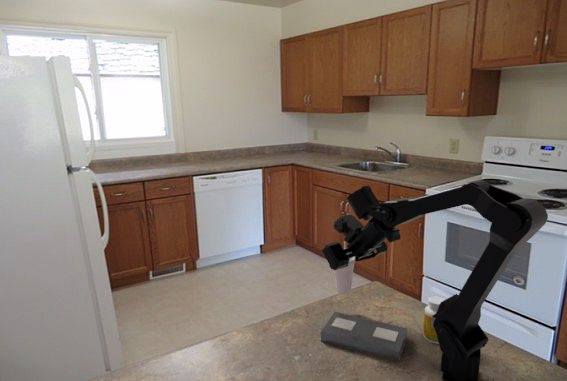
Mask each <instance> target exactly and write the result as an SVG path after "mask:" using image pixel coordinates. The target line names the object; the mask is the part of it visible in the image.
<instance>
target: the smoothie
mask: <svg viewBox="0 0 567 381" xmlns="http://www.w3.org/2000/svg"><path fill="white" fill-rule="evenodd" d="M344 249H347V243H346V241H343V250H344ZM355 261H356V260H355V257H352V258H349V264H348V266H347V267H344V268H341V269H337V270H333V272H334V278H335V280H334V281H335V285H336V290H337V293H339V294H342V295H348V294H350V293H351V291H352V286H353V284H352V283H353V276H354V267H355V263H356V262H355Z"/></svg>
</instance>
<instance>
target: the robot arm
mask: <svg viewBox="0 0 567 381" xmlns="http://www.w3.org/2000/svg"><path fill="white" fill-rule="evenodd" d="M346 201H347V203H348V204H349V206H350V208H351V209H352V211H353V212H354V214H355V215H356V217H355V216H354V215H352V214H346V215H342V216H340V217H338V218H337V219H336V220H335V221H334V222H333V223H334V224H333V229H335V231H336V232H337V233H339V234H342V235H344V236H345V237H344V242H346V249H344V247H343V246H342V244H341V243H340V242H338V241H335V242H331V243H328V244H327V243H326V244H325V245H324V246H323V247H322V249H321V252H322V254H323V256H324V257H325V259H326V261H327V263H328V265H329V268H330V269H331V270H333V271H334V270H337V269H341V268H344V267H347V266H348V264H349V258H352V257H355V260H356V261H355V263H357V262H360V261H361V262H362V261H365V260H370V259H373V258H375V257H379V256H382V255H383V254H385V253H386V252H387V251H388V245H387V243H386V242H385V241H386V240H387V242H389V243H393V242H396V241H399V240H401V239H402V238H401V234H400V233H401V232H400V231H401V230H400V229H399V228H397V227H399V226H401V225H404V224H409V223H411V222H413V221H415V220H417V219H419V218H422V217H423V216H425V215H428V214H432V213H436V212H440V211H443V210H449V209H453V208H457V207H461V206H466V205H469V206H471V207H472V208H473V209H474V210H475V211H476V212H477V213H478V214H479V215H480V216H481V217H482V218H483V219H484V220H486V221H488V222H490V223H491V224H490V227H489V240H488V243H487V245H486V247H485V249H484V250H483V252H482V254H481V256H480V257H479V259H478V261H477V262H476V263H475V265H474V268H473V269H472V271H471V273H470V274H469V276H468V277H467V279H466V281H465V283H464V285H463V286H462V287H461V289H460V291H459V293H458V294H457V293H455V294H453V295H452V296H449V297H448V298H445V300H444V301H442V302H441V303H440V305H439V307H438V311H437V312H436V314H435V315H433V316H432V317H433V318H435V319H434V322H433V327H434V328H435V332H436V334H437V338H438V342H439V344H438V345H439V349H440V352H441V359H440V361H441V362H440V372H441V373H442V378H441V379H442V381H480V366H481V354H482V352H481V349H482V348H484V347H486V345H487V344H488V342H489V340H490V339H489V337H488V335H487V334H486V333H485V331H484V330H483V329H482V327H481V325H480V323H479V322H480V320H481V317H482V305H483V304H484V302H485V301H486V299H487V297H488V296H489V295H490V293H491V292H492V290H493V288H494V287H495V285H496V283H497V282H498V281H499V279H500V277H501V276H502V274H503V272H505V269H506V268H507V267H508V265H509V263H510V262H511V260H512V258H514V256H515V254H516V252H517V251H518V250H519V249H520V248H521V247H522V246H524V245H525V244H526V243H527V242H528V241H529V240H530V239H532V238H533V237H534V236H535V235H536V234H537V233H538V232H539V231H540V230H541V229H542V228H543V227H544V226H545V225H546V223H547V221H548V218H549V217H548V216H549V215H548V212H547V209H546V208H545V206H544V205H543V203H541V202H539V201H538V200H536V199H534V198H530V197H528V198H527V197H522V196H521V195H519V194H517V193H514V192H512V191H509V190H506V189H503V188H500V187H497V186H495V185H492V184H491V183H489V182H487V181H485V180H482V179H479V180H478V179H477V180H473V181H469V182H465V183H464V184H462V185H460V186H459V185H458V186H456V187H452V188H449V189H446V190H445V189H444V190H442V191H441V190H440V191H439V192H435V193H431V194H427V195H424V196H418V197H416V196H413V197H412V196H411V197H401V198H395V199H392V200H388V201H383V202H380V201H379V199H378V198H377V197H376V195H375V194H374V192H373V189H372V188H371V186H370V185H368V184H367V185H362V187H361V188H359V189H357V190H355V191H353V192H352V193H350V194H349V195H348V196H347V197H346ZM357 218H358V219H357ZM360 220H364V221H367V222H366V224H364V225H363V223H362V222H361V221H360ZM375 251H376V252H375Z"/></svg>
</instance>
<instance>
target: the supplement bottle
mask: <svg viewBox="0 0 567 381" xmlns="http://www.w3.org/2000/svg"><path fill="white" fill-rule="evenodd" d="M444 300H446V298H444V297H441V296H436V295H435V296H430V297H429V298H428V302H427V303H428V304H427V305H426V306H425V308H424V313H423V316H424V318H423V332H422V335H423V337H424V339H425V340H426V341H428V343H433V344H436V345H437V344H438V345H439V342H438V338H437V334H436V332H435V328H434V327H433V322H434V319H435V318H433V317H432V316H433V315H435V314H436V312H437V311H438V307H439V305H440V303H441V302H442V301H444Z"/></svg>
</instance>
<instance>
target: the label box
mask: <svg viewBox="0 0 567 381" xmlns="http://www.w3.org/2000/svg"><path fill="white" fill-rule="evenodd" d="M407 339H408V328H407V327H402V326H399V325H395V324H390V323H387V322H386V323H385V322H381V321H377V320H372V319H369V318H366V317H365V318H363V317H359V316H355V315H351V314H347V313H342V312H337V311H334V312H333V314H332V315H331V317H330V318H329V319H328V320H327V322H326V324H325V325H324V326H323V327H322V329H321V330H320V341H321V342H324V343H327V344H331V345H335V346H338V347H342V348H346V349H349V350H353V351H357V352H360V353H362V354H363V353H364V354H367V355H371V356H374V357H379V358H382V359H386V360H389V361H393V362H397V363H400V360H401V357H402V354H403V351H404V348H405V345H406V342H407Z"/></svg>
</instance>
